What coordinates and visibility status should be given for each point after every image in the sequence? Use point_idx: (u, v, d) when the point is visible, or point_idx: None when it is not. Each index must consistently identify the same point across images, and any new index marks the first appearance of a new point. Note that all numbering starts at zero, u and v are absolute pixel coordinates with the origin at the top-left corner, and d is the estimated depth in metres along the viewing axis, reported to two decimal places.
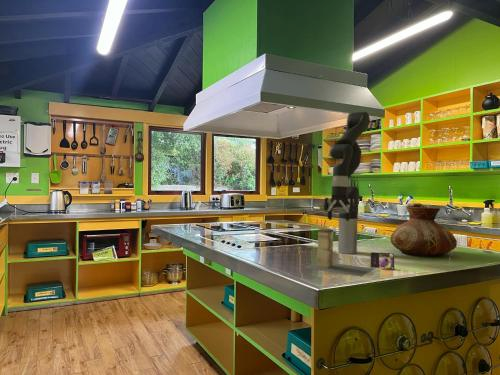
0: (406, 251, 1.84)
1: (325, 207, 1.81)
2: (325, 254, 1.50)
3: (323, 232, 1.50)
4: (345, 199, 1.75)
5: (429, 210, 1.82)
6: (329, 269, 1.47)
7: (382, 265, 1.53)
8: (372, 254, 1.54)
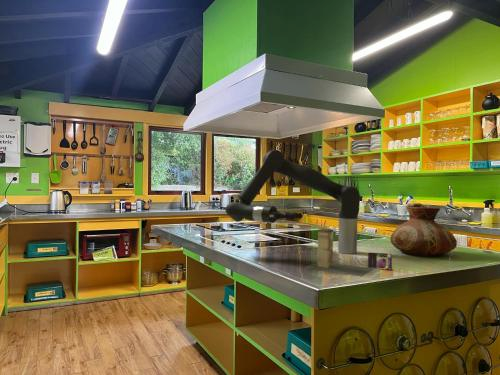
0: (406, 251, 1.84)
1: None
2: (325, 254, 1.50)
3: (323, 232, 1.50)
4: None
5: (429, 210, 1.82)
6: (329, 269, 1.47)
7: (380, 265, 1.53)
8: (370, 254, 1.54)
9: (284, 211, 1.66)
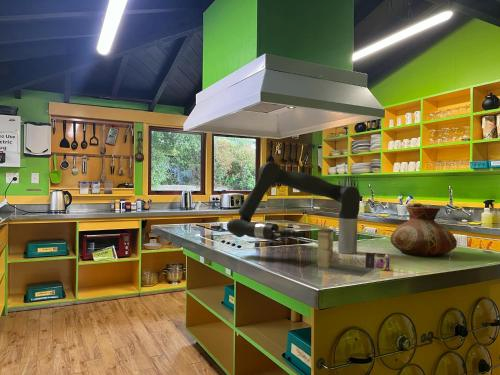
0: (406, 251, 1.84)
1: None
2: (325, 254, 1.50)
3: (323, 232, 1.50)
4: (275, 235, 1.62)
5: (429, 210, 1.82)
6: (329, 269, 1.47)
7: (377, 266, 1.52)
8: (367, 254, 1.53)
9: (284, 229, 1.64)
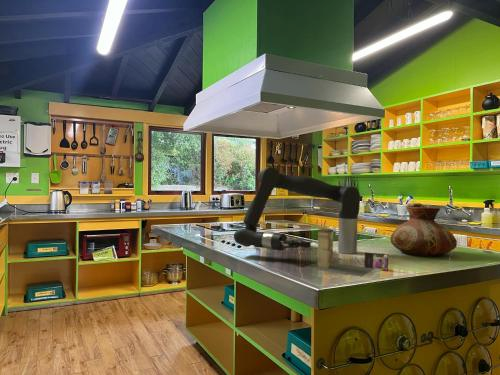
0: (406, 251, 1.84)
1: None
2: (325, 254, 1.50)
3: (323, 232, 1.50)
4: (283, 246, 1.60)
5: (429, 210, 1.82)
6: (329, 269, 1.47)
7: (376, 266, 1.52)
8: (366, 254, 1.53)
9: (292, 239, 1.62)
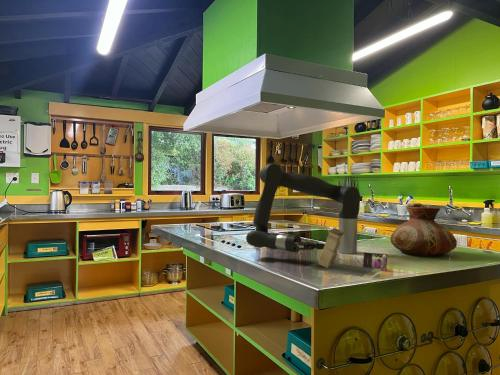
0: (406, 251, 1.84)
1: None
2: (330, 255, 1.49)
3: (334, 234, 1.48)
4: (298, 247, 1.56)
5: (429, 210, 1.82)
6: (329, 269, 1.47)
7: (375, 266, 1.52)
8: (365, 254, 1.54)
9: (307, 240, 1.58)
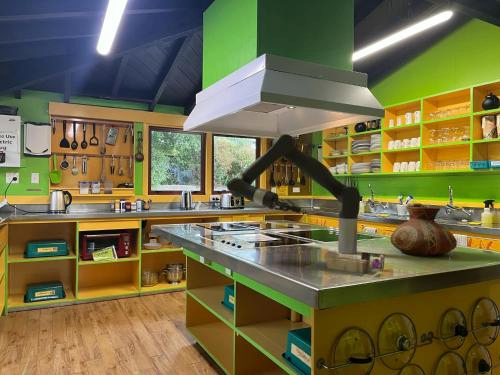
0: (406, 251, 1.84)
1: None
2: (340, 268, 1.46)
3: (362, 268, 1.42)
4: (274, 206, 1.64)
5: (429, 210, 1.82)
6: (329, 269, 1.47)
7: (373, 266, 1.52)
8: (363, 254, 1.54)
9: (284, 201, 1.66)
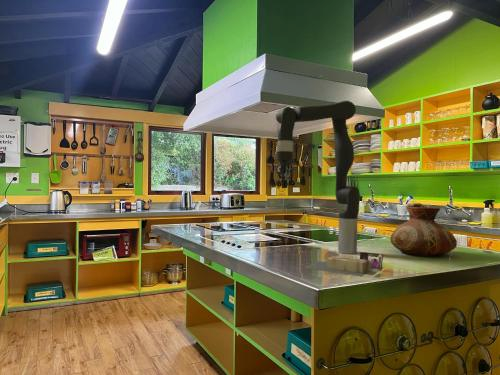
0: (406, 251, 1.84)
1: None
2: (340, 268, 1.46)
3: (362, 268, 1.42)
4: None
5: (429, 210, 1.82)
6: (329, 269, 1.47)
7: (371, 265, 1.53)
8: (362, 254, 1.55)
9: (288, 170, 1.75)
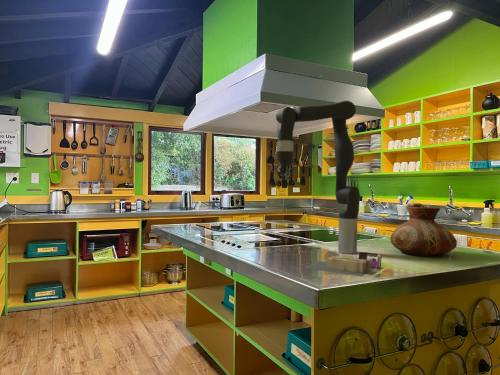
0: (406, 251, 1.84)
1: None
2: (340, 268, 1.46)
3: (362, 268, 1.42)
4: None
5: (429, 210, 1.82)
6: (329, 269, 1.47)
7: (370, 265, 1.53)
8: (360, 254, 1.55)
9: (288, 170, 1.75)
